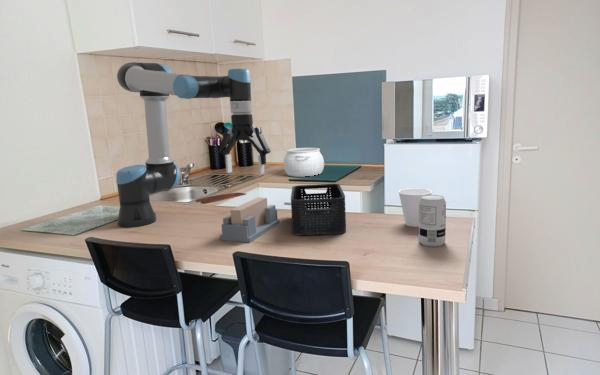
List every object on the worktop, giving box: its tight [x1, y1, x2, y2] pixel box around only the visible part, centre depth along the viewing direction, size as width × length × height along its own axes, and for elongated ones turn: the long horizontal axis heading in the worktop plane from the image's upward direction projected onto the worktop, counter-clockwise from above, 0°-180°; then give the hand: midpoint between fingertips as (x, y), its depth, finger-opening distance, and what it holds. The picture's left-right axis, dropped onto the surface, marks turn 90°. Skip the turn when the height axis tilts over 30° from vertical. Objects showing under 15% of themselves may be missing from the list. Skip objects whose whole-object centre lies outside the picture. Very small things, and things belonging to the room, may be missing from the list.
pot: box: [283, 147, 325, 178], centre depth 277 cm, size 29×26×16 cm
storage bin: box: [290, 183, 347, 237], centre depth 162 cm, size 29×19×13 cm
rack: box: [219, 204, 281, 243], centre depth 158 cm, size 12×24×8 cm, turn 157°
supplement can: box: [417, 194, 447, 247], centre depth 135 cm, size 8×8×15 cm
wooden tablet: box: [195, 192, 247, 204], centre depth 219 cm, size 27×10×2 cm, turn 133°
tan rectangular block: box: [230, 197, 268, 227], centre depth 157 cm, size 4×20×9 cm, turn 157°
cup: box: [398, 187, 433, 228], centre depth 156 cm, size 12×12×12 cm
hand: (245, 172), depth 155 cm, fingers open, 13 cm apart
